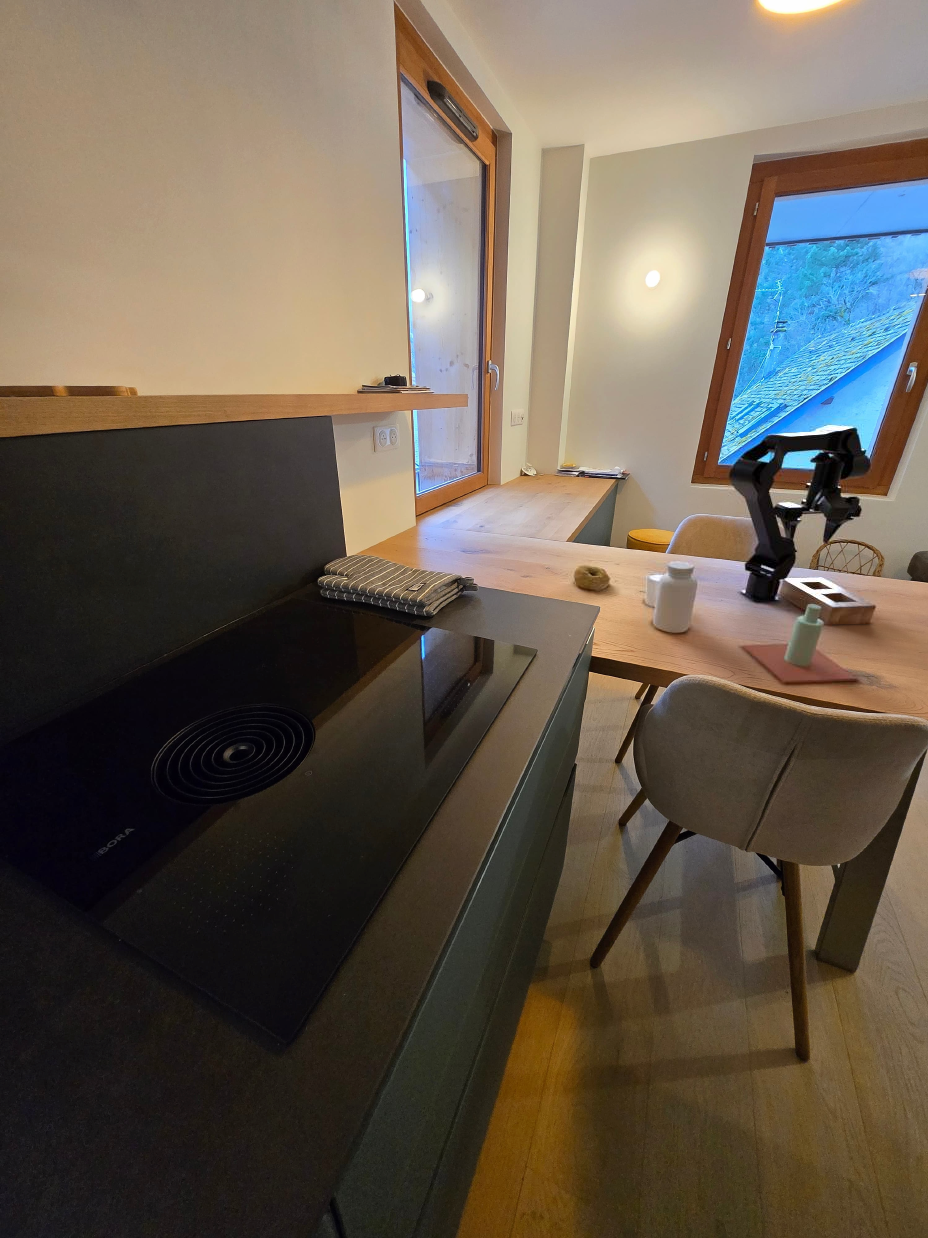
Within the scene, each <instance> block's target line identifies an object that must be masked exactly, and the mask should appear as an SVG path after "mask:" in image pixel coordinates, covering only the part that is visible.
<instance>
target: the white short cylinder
mask: <svg viewBox="0 0 928 1238" xmlns="http://www.w3.org/2000/svg"><path fill="white" fill-rule="evenodd" d="M664 574H665V573H657V572H655V573H649V574H647V575H646V577H645V597H644V603H645V604H646V606H648V607H649V606H650V607H652V608H655V604H656V598H657V591H658V585H659V580H660V578H661V576H662V575H664Z"/></svg>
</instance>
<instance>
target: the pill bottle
mask: <svg viewBox="0 0 928 1238" xmlns="http://www.w3.org/2000/svg"><path fill="white" fill-rule="evenodd" d="M694 569H695V567H694V564H692V563H690V562H686V561H679V560H678V561H676V560H675V561H670V562H669V563H667V566H666V573H663V574H664V575H662V576H661V578H660V580H659V585H658V591H657V598H656V604H655V607H654V610H653V611H654V612H653V617H652V624H653V626H654V627H655V628H656V629H658V630H660V631H663V632H667V633H674V634H675V633H676V634H677V633H678V634H679V633H684V632H686V631H688V630H689V628H690V625H691V621H692V615H693V609H694V606H695V605H694V604H695V600H696V596H697V595H696V594H697V590H698V581H697V579H696V578H695V577H694V576H693V574H694Z"/></svg>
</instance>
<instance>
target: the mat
mask: <svg viewBox="0 0 928 1238" xmlns="http://www.w3.org/2000/svg"><path fill="white" fill-rule="evenodd" d="M788 644H789V643H774V644H747V645H746V644H744V645H742V649H744V650H745V651H746V652H747V653H749V654H750V656H752V657H753V658H754V659H755V660H756V661H758V663H760V664H761V665H762V666H764V668H766V669H767V670H768V671H769V672H770V673H771V674H772V675H774V676H775V677H776V678H777V679H778V680H779V681H780V682H782V683H783V684H802V683H803V684H804V683H827V682H828V683H829V682H830V683H832V682H833V683H834V682H857V680H858V678H857V677H856V676H854V675H853V674H851V673H850V672H849V671H847V669H845V668H843V667H842V666H840V665H839V664H837V663H836V662H835V661H833V660H832V659H830V658H829V657H828V656H826V655H825V654H824V653H822V652H820V651H819V650H818V649H817V648H815V651H814V654H813V657H812V660H811V663H810V665H809V666H796V665H793V664H790V663H788V662H787V661H786V660H785V658H784V657H785V654H786V651H787V648H788Z"/></svg>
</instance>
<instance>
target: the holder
mask: <svg viewBox="0 0 928 1238" xmlns="http://www.w3.org/2000/svg"><path fill="white" fill-rule="evenodd" d="M778 596H780V597H782V598H784V599H785V600H787V601H788V602H789V603H791V604H793V605H795V606H796V607H798V608H800V609H801V610H802V611H804V612H806V609H807V606H808V605H809V604H815V605H819V606H821V611H820V614H819V617H818V619H820V620H822V621H823V623H824V624H825V625H828V626H829V625H830V626H831V625H854V624H855V625H857V624H859V625H860V624H861V625H862V624H871V621H872V618H873V616H874V613H875V610H876V608H877V605H876V604H874V603H872V602H870V601H868V600H866V599H864V598H862V597H860V596H858V595H856V594H854V593H852V592H851V591H848V590H847V589H845V588H843V587H841V586H838V585H837V584H835V583H833V582H831V581H829V580H828V579H825V578H823V577H803V578H802V577H799V578H786V579H782V583H781V588H780V590H779V594H778Z"/></svg>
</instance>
